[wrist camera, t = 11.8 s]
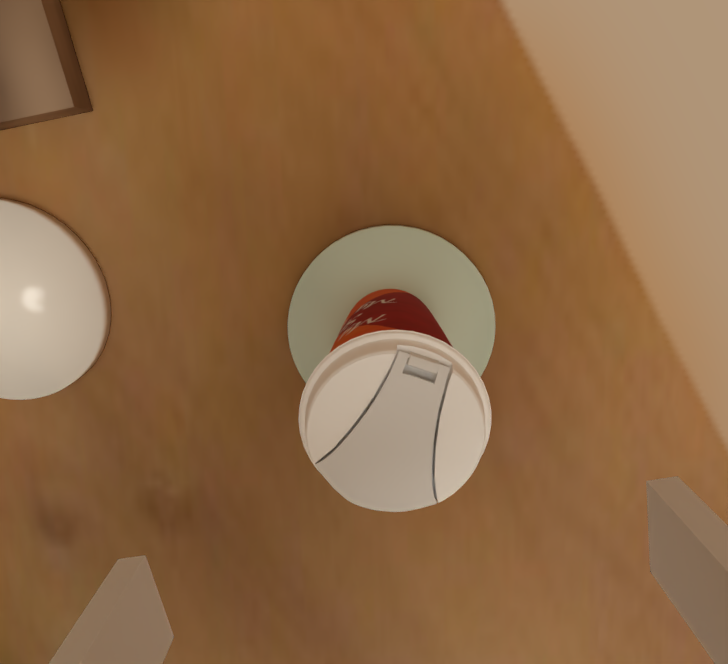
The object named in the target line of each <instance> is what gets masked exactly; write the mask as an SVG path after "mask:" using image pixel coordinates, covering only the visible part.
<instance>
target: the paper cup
mask: <svg viewBox="0 0 728 664" xmlns="http://www.w3.org/2000/svg"><path fill="white" fill-rule="evenodd" d="M299 429H300V435H301V439H302V442H303V446H304V448H305V450H306V452H307V454H308V456H309V459H310V460H311V462H312V463H313V464H314V466H315V467H316V469H317V470H318V471H319V472H320V473H321V474H322V475H323V477H324V478H325V479H326V480H327V481H328V483H329V484H330V485H331V486H332V487H333V488H334V489H335V490H336V491H337V492H338V493H339V494H340V495H342V496H343V497H344V498H345V499H346V500H348V501H350V502H351V503H353V504H356V505H358V506H361V507H364V508H368V509H372V510H377V511H389V512H403V511H410V510H415V509H419V508H423V507H427V506H430V505H434V504H437V501H438V503H439V502H442V501H443V500H445V499H446V498H448V497H449V496H451V495H452V494H454V493H455V492H456V491H457V490H458V489H459V488H460V487H462V486H463V485H464V484H465V482H466V481H467V480H468V479H469V477H470V476H471V475H472V474H473V472H474V470H475V468H476V466H477V465H478V463H479V460H480V458H481V456H482V454H483V453H484V450H485V448H486V445H487V442H488V439H489V434H490V429H491V407H490V401H489V396H488V393H487V391H486V388H485V385H484V383H483V381H482V379H481V378H480V376H479V374H478V372H477V371H476V369H475V368H474V367H473V366H472V364H471V363H470V362H469V361H468V360H467V359H466V358H465V357H464V356H463V355H462V354H461V353H460V352H458V351H457V350H456V349H455V348H453V346H452V345H451V343H450V342H449V340H448V338H447V337H446V335H445V333H444V332H443V330H442V329H441V327H440V325H439V324H438V322H437V321H436V319H435V318H434V316H433V315H432V313H431V312H430V310H429V309H428V308H427V306H426V305H425V304H424V303H423V302H422V301H421V300H420V299H418V298H417V297H416V296H414V295H412V294H410V293H408V292H406V291H402V290H398V289H382V290H378V291H375V292H372V293H370V294H368V295H366V296H365V297H363V298H362V299H361V300H360V301H358V303H357V304H356V305H355V306H354V307H353V308H352V310H351V311H350V313H349V315H348V317H347V318H346V320H345V322H344V324H343V326H342V328H341V330H340V332H339V334H338V336H337V338H336V340H335V342H334V344H333V347H332V349H331V351H330V353H329V354H328V355H327V356H326V357H325V358H324V359H323V360H322V361H321V362H320V363H319V364H318V365H317V366H316V368H315V369H314V371H313V373H312V374H311V376H310V377H309V379H308V381H307V383H306V386H305V388H304V390H303V393H302V397H301V401H300V405H299ZM436 499H437V500H436Z"/></svg>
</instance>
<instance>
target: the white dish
mask: <svg viewBox="0 0 728 664" xmlns="http://www.w3.org/2000/svg"><path fill="white" fill-rule="evenodd" d="M110 324H111V305H110V297H109V293H108V289H107V285H106V282H105V279H104V277H103V274H102V271H101V269H100V267H99V266H98V264H97V262H96V260H95V258H94V257H93V255H92V254H91V252H90V251H89V249H88V248H87V247H86V245H85V244H84V243H83V242H82V241H81V240H80V239H79V237H78V236H77V235H76V234H75V233H74V232H72V231H71V230H70V229H69V228H68V227H67V226H66V225H65V224H63V223H62V222H60V221H59V220H58V219H56V218H55V217H53V216H52V215H50V214H48V213H46V212H45V211H43V210H41V209H39V208H36V207H34V206H31V205H29V204H26V203H22V202H19V201H15V200H10V199H3V198H0V398H5V399H16V400H25V399H35V398H39V397H44V396H48V395H50V394H53V393H55V392H58V391H60V390H62V389H63V388H65V387H67V386H69V385H70V384H71V383H73V382H74V381H76V380H77V379H79V378H80V377H81V376H82V375H84V374H85V373H86V372H87V371H88V370H89V369H90V368H91V367H92V366H93V365H94V364H95V362H96V361H97V359H98V358H99V356H100V355H101V353H102V351H103V349H104V347H105V345H106V342H107V338H108V335H109V330H110Z"/></svg>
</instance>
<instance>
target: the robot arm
mask: <svg viewBox="0 0 728 664" xmlns="http://www.w3.org/2000/svg"><path fill="white" fill-rule="evenodd" d="M646 485H647V508H648V531H649V555H650V572H651V573H652V575H653V576H654V578H655V579H656V581H657V582H658V583H659V585H660V586H661V588H662V589H663V591H664V592H665V593H666V595H667V596H668V598H669V599H670V600H671V602H672V603H673V605H674V606H675V608H676V609H677V610H678V612H679V613H680V615H681V616H682V618H683V619H684V620H685V622H686V623H687V625H688V626H689V628H690V629H691V630H692V632H693V633H694V635H695V636H696V638H697V639H698V640H699V642H700V643H701V645H702V646H703V648H704V649H705V650H706V652H707V653H708V655H709V656H710V658H711V659H712V660H713V662H714V663H715V664H728V526H727V525H726V524H725V523H724V522H723V521H722V520H721V519H720V518H719V517H718V516H717V515H716V514H715V513H714V512H713V511H712V510H711V509H710V508H709V507H708V506H707V505H706V504H705V503H704V502H703V501H702V500H701V499H700V498H699V497H698V496H697V495H696V494H695V493H694V492H693V491H692V490H691V489H690V488H689V487H688V486H687V485H686V484H685V483H684V482H683V481H682V480H681V479H680V478H679V477H678V476H677V477H670V478H663V479H656V480H650V481H646ZM173 638H174V635H173V633H172V630H171V627H170V624H169V621H168V618H167V615H166V613H165V610H164V607H163V604H162V601H161V598H160V595H159V593H158V590H157V587H156V584H155V581H154V578H153V575H152V573H151V570H150V567H149V564H148V561H147V558H146V555H143V556H136V557H130V558H123V559H118V560H117V562H116V563H115V565H114V566H113V568H112V569H111V571H110V572H109V574H108V575H107V577H106V578H105V580H104V581H103V583H102V584H101V586H100V587H99V589H98V590H97V592H96V593H95V595H94V596H93V598H92V599H91V601H90V602H89V604H88V605H87V607H86V608H85V610H84V611H83V613H82V614H81V616H80V617H79V619H78V620H77V622H76V623H75V625H74V626H73V628H72V629H71V631H70V632H69V634H68V635H67V637H66V638H65V640H64V641H63V643H62V644H61V646H60V647H59V649H58V650H57V652H56V653H55V655H54V656H53V658H52V659H51V661H50V662H49V664H163V661H164V659H165V657H166V654H167V652H168V650H169V647H170V645H171V643H172V640H173Z"/></svg>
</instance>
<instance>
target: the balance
mask: <svg viewBox="0 0 728 664" xmlns="http://www.w3.org/2000/svg"><path fill="white" fill-rule="evenodd" d="M90 111H93V110H92V106H91V103H90V100H89V96H88V93H87V90H86V86H85V83H84V80H83V77H82V73H81V70H80V67H79V63H78V60H77V57H76V53H75V50H74V47H73V44H72V40H71V37H70V34H69V30H68V27H67V24H66V20H65V17H64V14H63V11H62V7H61V4H60V1H59V0H0V130H4V129H8V128H13V127H18V126H23V125H28V124H32V123H37V122H42V121H47V120H51V119H56V118H61V117H66V116H71V115H75V114H80V113H85V112H90Z"/></svg>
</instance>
